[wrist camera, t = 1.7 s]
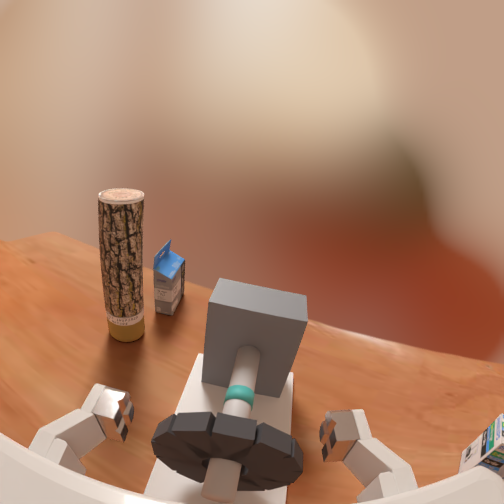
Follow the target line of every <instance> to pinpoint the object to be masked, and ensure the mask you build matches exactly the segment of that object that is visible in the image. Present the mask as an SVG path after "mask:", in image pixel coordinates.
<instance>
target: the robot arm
mask: <svg viewBox="0 0 504 504" xmlns="http://www.w3.org/2000/svg"><path fill="white" fill-rule="evenodd" d="M129 400H130V394H129V392H126V391H123V390H119V389H115V388H112V387H108V386H105V385H101V384H98V383H96V384H95V385H94V386H93V387H92V389H91V391H90V393H89V395H88V396H87V398H86V400H85V402H84V404H83V406H82V407H81V409H76V410H74V411H72V412H70V413H68V414H66V415H65V416H63V417H61V418H59V419H57V420H55V421H53V422H51V423H49V424H47V425H46V426H44V427H42V428H40V429H39V430H38V432H37V434H36V436H35V437H34V439H33V441H32V443H31V445H30V446H29V448H28V449H27V448H25V447H23V446H22V445H20V444H18V443H17V442H15V441H13V440H12V439H10V438H8V437H7V436H5V435H3V434H2V433H0V504H186V503H180V502H175V501H170V500H165V499H160V498H156V497H151V496H147V495H143V494H139V493H136V492H132V491H129V490H125V489H122V488H119V487H115V486H112V485H109V484H106V483H103V482H100V481H98V480H95V479H92V478H90V477H87V476H84V475H85V472H86V468H85V467H84V465H83V464H82V463H81V462H80V460H79V459H80V458H82V457H83V456H84V455H86V454H87V453H88V452H90V451H91V450H92V449H94V448H95V447H96V446H97V445H99V444H100V443H101V442H103V441H104V440H105V439H106V438H109V439H113V440H116V441H120V442H124V441H125V438H126V435H127V433H128V429H127V425H129V424H130V423H131V422H132V419H133V414H134V407H133V404H132V403H131V402H130V401H129ZM325 419H326V420H325V421H323V422H322V424H321V426H320V442H321V443H322V444H323V445H324V447H323V449H322V454H323V460H324V462H336V461H343V463H344V464H345V465H346V466H347V468H348V469H349V470H350V471H351V472H352V473H353V474H354V475H355V476H356V478H357V479H358V480H359V481H360V482H361V483H362V484H363V485H364V486H365V487H366V488H365V489H364V490H363V491H362V492H361V493H360V494H359V495H358V496H357V503H354V504H504V481H503V479H502V478H501V477H500V476H499V475H498V474H496V473H495V472H493V471H491V470H489V469H488V468H486V467H484V466H476V467H473V468H471V469H468V470H466V471H464V472H462V473H459V474H457V475H454V476H452V477H449V478H447V479H444V480H441V481H439V482H436V483H433V484H430V485H427V486H424V487H421V488H418V486H417V483H416V480H415V477H414V474H413V471H412V468H411V466H410V465H409V464H408V463H406V462H405V461H404V460H403V459H401V458H400V457H399V456H397V455H396V454H395V453H394V452H392V451H391V450H390V449H389V448H387V447H386V446H385V445H384V444H382V443H381V442H380V441H379V440H378V439H376V438H372V435H371V432H370V429H369V426H368V422H367V419H366V416H365V413H364V411H363V410H362V409H356V410H338V411H328V412H327V413H326V415H325Z"/></svg>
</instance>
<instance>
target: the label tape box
mask: <svg viewBox="0 0 504 504" xmlns="http://www.w3.org/2000/svg"><path fill="white" fill-rule="evenodd" d="M170 243H171V240H169V241H168V242H167V243H166V244H165V245H164V246H163V248H162V249H161V250H160V251H159V252H158V253H157V254H156V255H155V257H154V267H153V270H154V299H155V312H158V313H162V314H167V315H173V313H174V311H175V309H176V307H177V305H178V303H179V301H180V299H181V297H182V295H183V293H184V275H185V260H184V259H183V258H181V257H180V256H178V255H177V254H175V253H173V252H172V251H170V250H169V248H170ZM164 251H165V252H164ZM162 252H164V254H163V255H162V256H161V257H160V255H161V254H162Z"/></svg>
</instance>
